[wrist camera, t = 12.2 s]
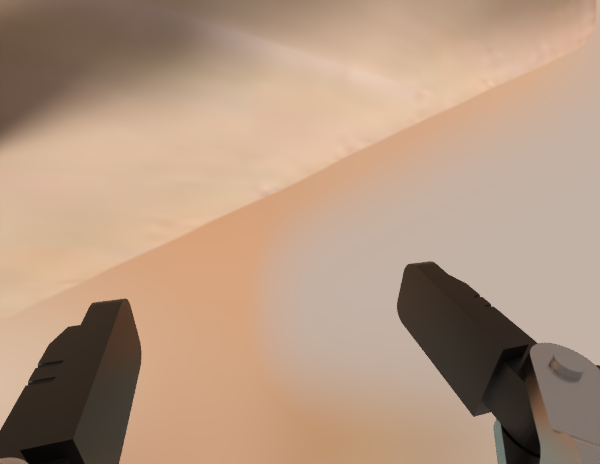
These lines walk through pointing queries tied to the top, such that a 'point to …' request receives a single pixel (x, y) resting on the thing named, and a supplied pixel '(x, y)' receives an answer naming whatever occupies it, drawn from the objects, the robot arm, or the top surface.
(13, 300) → the top surface
